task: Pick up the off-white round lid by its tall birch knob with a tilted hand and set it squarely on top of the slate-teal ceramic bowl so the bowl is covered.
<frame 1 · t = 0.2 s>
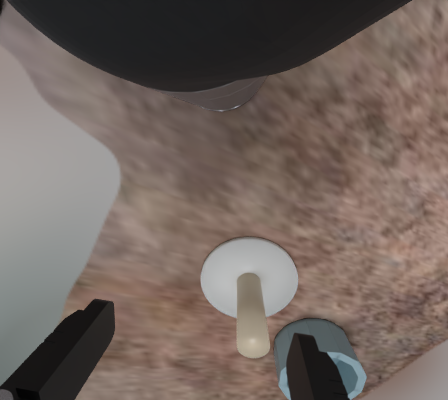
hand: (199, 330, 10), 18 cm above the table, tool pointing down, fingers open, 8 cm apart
bowl: (310, 345, 34), on the table
lid: (248, 277, 31), on the table
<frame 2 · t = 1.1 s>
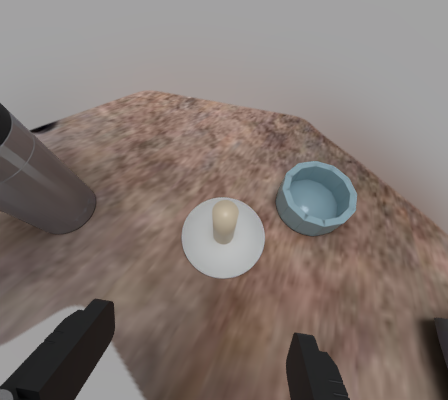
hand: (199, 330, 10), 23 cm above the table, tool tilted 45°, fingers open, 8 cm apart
bowl: (307, 205, 39), on the table
lid: (223, 236, 36), on the table
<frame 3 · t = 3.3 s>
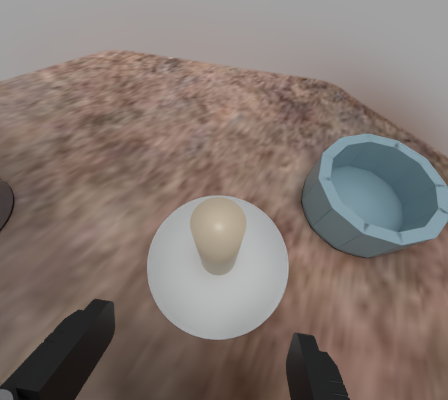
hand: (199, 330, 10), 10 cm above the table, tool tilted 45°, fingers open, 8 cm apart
bowl: (352, 206, 24), on the table
lid: (218, 259, 22), on the table
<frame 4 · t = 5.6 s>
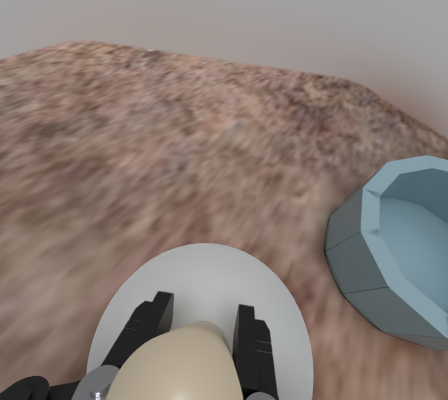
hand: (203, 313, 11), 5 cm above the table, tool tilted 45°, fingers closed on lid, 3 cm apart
bowl: (398, 257, 17), on the table
lid: (202, 349, 14), on the table, touching gripper
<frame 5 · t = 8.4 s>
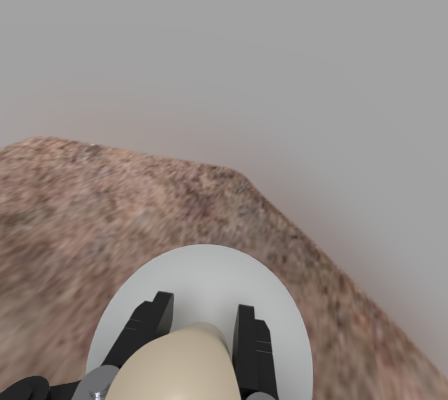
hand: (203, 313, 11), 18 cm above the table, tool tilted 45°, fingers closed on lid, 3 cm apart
lid: (202, 350, 14), point 14 cm above the table, touching gripper
when the fingers open (11 cm above the table, at t = 11.0 s): lid drops 1 cm, resting on bowl.
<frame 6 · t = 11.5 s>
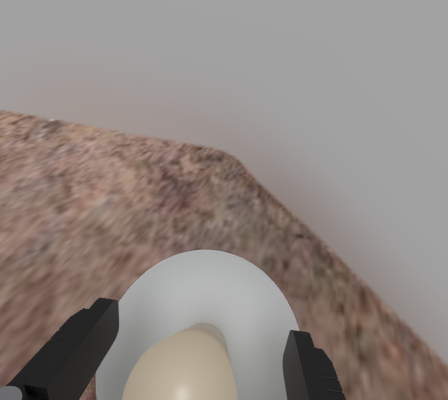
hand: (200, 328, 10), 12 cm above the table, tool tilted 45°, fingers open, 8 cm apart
lid: (203, 348, 15), point 5 cm above the table, touching bowl
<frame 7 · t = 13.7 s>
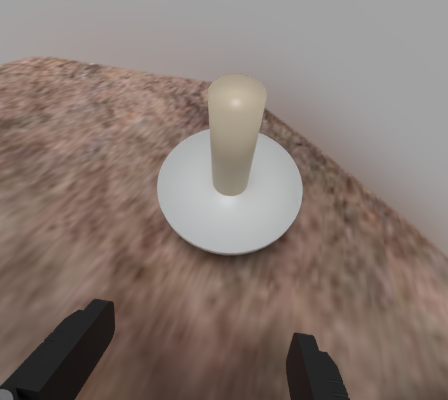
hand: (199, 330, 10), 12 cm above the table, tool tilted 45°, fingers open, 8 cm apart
lid: (229, 186, 21), point 5 cm above the table, touching bowl
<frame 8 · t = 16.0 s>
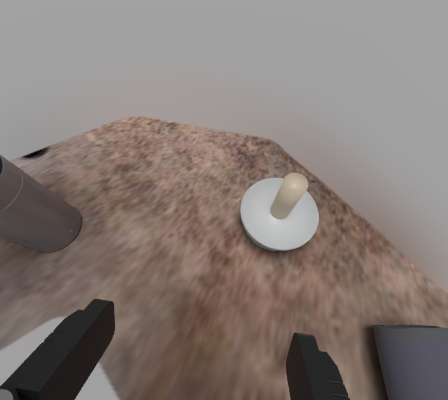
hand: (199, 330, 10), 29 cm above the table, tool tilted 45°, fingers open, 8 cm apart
lid: (278, 213, 38), point 5 cm above the table, touching bowl
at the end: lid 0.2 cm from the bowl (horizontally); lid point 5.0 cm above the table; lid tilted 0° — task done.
